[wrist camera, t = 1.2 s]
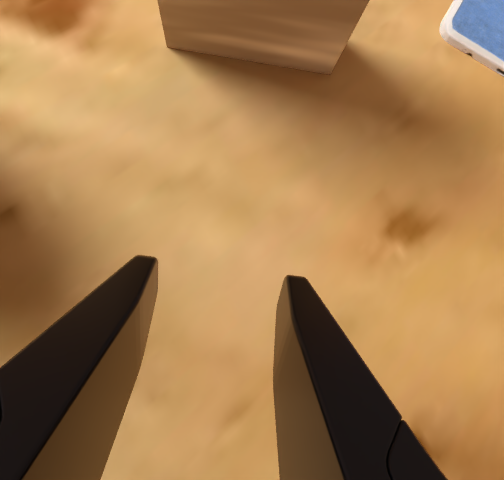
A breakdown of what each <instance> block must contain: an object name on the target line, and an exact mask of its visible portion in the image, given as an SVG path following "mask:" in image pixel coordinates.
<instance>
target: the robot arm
mask: <svg viewBox="0 0 504 480" xmlns="http://www.w3.org/2000/svg"><path fill="white" fill-rule="evenodd" d="M157 290H158V260H157V258H155V257H151V256H143V255H137V256H135V257H134V258H132V259H131V260H130V261H129V262H127V263H126V264H125V265H124V266H123V267H121V268H120V269H119V270H118V271H117V272H115V273H114V274H113V275H112V276H111V277H109V278H108V279H107V280H106V281H105V282H103V283H102V284H101V285H100V286H98V287H97V288H96V289H95V290H94V291H92V292H91V293H90V294H89V295H88V296H86V297H85V298H84V299H83V300H82V301H80V302H79V303H78V304H77V305H76V306H74V307H73V308H72V309H71V310H69V311H68V312H67V313H66V314H65V315H63V316H62V317H61V318H60V319H59V320H57V321H56V322H55V323H54V324H53V325H51V326H50V327H49V328H48V329H47V330H45V331H44V332H43V333H42V334H40V335H39V336H38V337H37V338H36V339H34V340H33V341H32V342H31V343H30V344H28V345H27V346H26V347H25V348H24V349H22V350H21V351H20V352H19V353H18V354H16V355H15V356H14V357H13V358H12V359H10V360H9V361H8V362H7V363H5V364H4V365H3V366H2V367H1V368H0V480H100V479H101V476H102V474H103V471H104V468H105V465H106V462H107V460H108V457H109V454H110V451H111V449H112V446H113V443H114V440H115V437H116V435H117V432H118V429H119V426H120V423H121V421H122V418H123V415H124V412H125V409H126V407H127V404H128V401H129V398H130V395H131V393H132V390H133V387H134V384H135V381H136V379H137V376H138V373H139V369H140V366H141V363H142V359H143V355H144V351H145V346H146V342H147V337H148V333H149V328H150V324H151V319H152V315H153V310H154V306H155V302H156V297H157ZM273 390H274V405H275V419H276V433H277V447H278V461H279V475H280V480H448V479H447V478H446V477H445V476H444V474H443V473H442V472H441V471H440V469H439V468H438V466H437V465H436V464H435V462H434V461H433V460H432V458H431V457H430V455H429V454H428V453H427V451H426V450H425V449H424V447H423V446H422V444H421V443H420V442H419V440H418V439H417V437H416V436H415V434H414V433H413V432H412V430H411V429H410V427H409V426H408V424H407V423H406V421H404V420H401V419H402V416H401V414H400V413H399V412H398V410H397V409H396V407H395V406H394V404H393V403H392V401H391V400H390V399H389V397H388V396H387V394H386V393H385V391H384V390H383V388H382V387H381V386H380V384H379V383H378V381H377V380H376V378H375V377H374V375H373V374H372V373H371V371H370V370H369V368H368V367H367V365H366V364H365V362H364V361H363V359H362V358H361V357H360V355H359V354H358V352H357V351H356V349H355V348H354V346H353V345H352V344H351V342H350V341H349V339H348V338H347V336H346V335H345V333H344V332H343V331H342V329H341V328H340V326H339V325H338V323H337V322H336V320H335V319H334V317H333V316H332V315H331V313H330V312H329V310H328V309H327V307H326V306H325V304H324V303H323V302H322V300H321V299H320V297H319V296H318V294H317V293H316V291H315V290H314V289H313V287H312V286H311V284H310V283H309V281H308V280H307V279H306V278H305V277H301V276H293V275H287V276H286V277H285V278H284V281H283V285H282V289H281V292H280V296H279V300H278V304H277V310H276V327H275V346H274V366H273Z"/></svg>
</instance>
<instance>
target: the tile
mask: <svg viewBox="0 0 504 480" xmlns="http://www.w3.org/2000/svg"><path fill="white" fill-rule="evenodd" d="M368 2H369V0H158V5H159V10H160V15H161V20H162V25H163V30H164V34H165V39H166V44H167V47H169V48H175V49H181V50H187V51H193V52H199V53H205V54H211V55H217V56H222V57H228V58H234V59H240V60H246V61H252V62H258V63H264V64H270V65H276V66H281V67H287V68H293V69H299V70H305V71H311V72H317V73H323V74H329V75H330V74H331V72H332V70H333V68H334V67H335V65H336V63H337V61H338V59H339V57H340V55H341V53H342V51H343V49H344V48H345V46H346V44H347V42H348V40H349V38H350V36H351V34H352V32H353V30H354V29H355V27H356V25H357V23H358V21H359V19H360V17H361V15H362V13H363V11H364V10H365V8H366V6H367V4H368Z"/></svg>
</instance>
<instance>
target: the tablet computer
mask: <svg viewBox="0 0 504 480" xmlns="http://www.w3.org/2000/svg"><path fill="white" fill-rule="evenodd" d="M440 34H441V36H442V38H443V39H444V40H445V41H446V42H447V43H449V44H450V45H452V46H454V47H455V48H457V49H459V50H460V51H462V52H464V53H466V54H470V55H471V56H472V57H473V58H474V59H475V60H477V61H478V62H480V63H482V64H483V65H485V66H487V67H488V68H490V69H492V70H493V71H495V72H497V73H499V74H500V75H502V76H503V77H504V0H454V1H453V2H452V4H451V6H450V8H449V9H448V11H447V13H446V14H445V16H444V18H443V20H442V22H441V24H440Z"/></svg>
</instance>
